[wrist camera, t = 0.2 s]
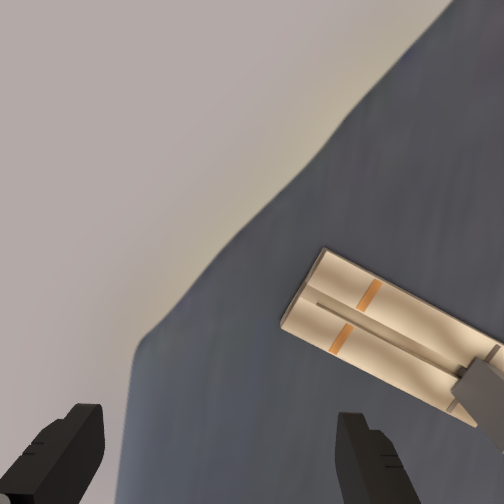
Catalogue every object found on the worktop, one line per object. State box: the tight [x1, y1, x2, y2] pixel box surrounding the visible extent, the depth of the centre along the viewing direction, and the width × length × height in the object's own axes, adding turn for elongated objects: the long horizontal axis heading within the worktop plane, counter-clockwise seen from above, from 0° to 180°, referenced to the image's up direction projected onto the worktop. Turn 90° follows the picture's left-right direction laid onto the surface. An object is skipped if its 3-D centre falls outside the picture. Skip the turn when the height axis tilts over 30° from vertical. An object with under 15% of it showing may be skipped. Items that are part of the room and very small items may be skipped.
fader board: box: [280, 247, 504, 428], centre depth 41 cm, size 10×26×2 cm, turn 62°
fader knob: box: [451, 358, 504, 454], centre depth 37 cm, size 5×3×11 cm, turn 152°
